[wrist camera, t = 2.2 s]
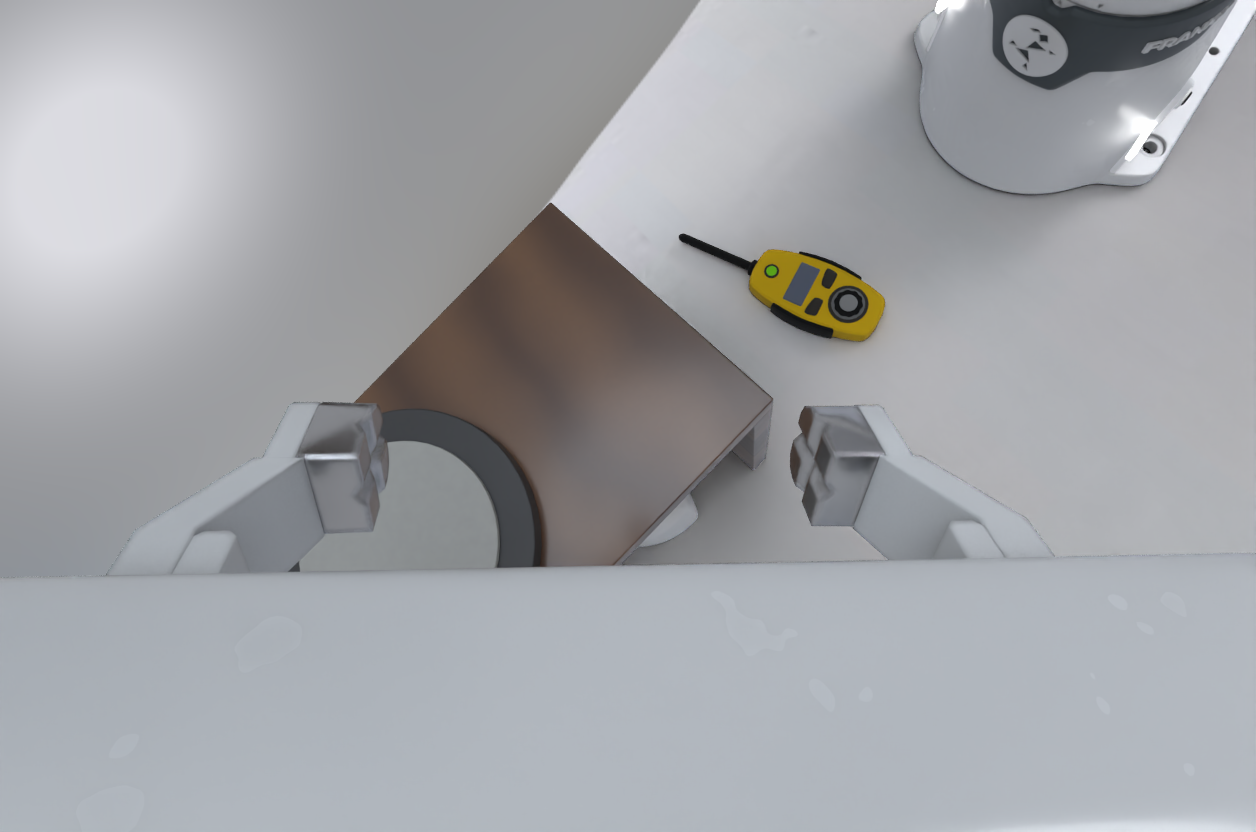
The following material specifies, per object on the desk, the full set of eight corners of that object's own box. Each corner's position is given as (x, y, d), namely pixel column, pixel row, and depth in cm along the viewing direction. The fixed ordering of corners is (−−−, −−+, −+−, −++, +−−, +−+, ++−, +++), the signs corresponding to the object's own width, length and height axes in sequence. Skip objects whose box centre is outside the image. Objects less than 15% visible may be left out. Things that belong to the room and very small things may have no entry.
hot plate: (421, 360, 32) (408, 352, 31) (599, 545, 29) (592, 545, 28) (238, 547, 32) (217, 546, 31) (398, 754, 29) (382, 763, 28)
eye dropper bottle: (620, 479, 48) (579, 455, 36) (702, 491, 47) (685, 470, 35) (610, 543, 47) (564, 539, 36) (692, 557, 46) (672, 557, 35)
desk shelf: (620, 324, 50) (550, 201, 33) (766, 457, 47) (774, 399, 29) (395, 555, 50) (203, 555, 32) (524, 708, 46) (387, 800, 29)
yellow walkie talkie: (864, 349, 45) (660, 257, 49) (860, 357, 47) (664, 268, 50) (897, 284, 45) (693, 199, 49) (891, 295, 47) (695, 212, 51)
